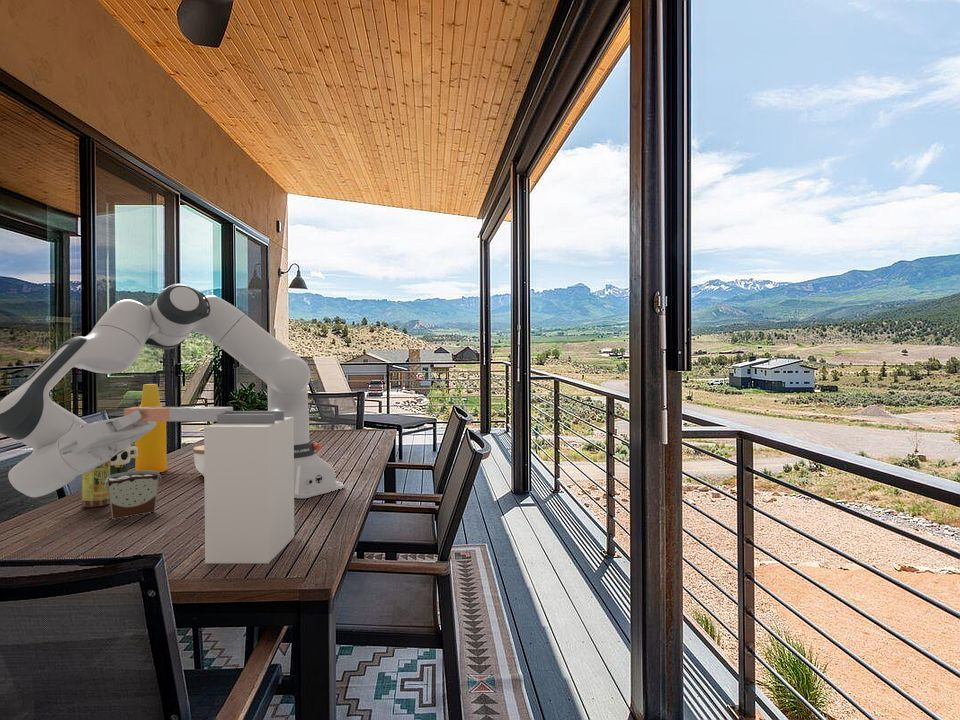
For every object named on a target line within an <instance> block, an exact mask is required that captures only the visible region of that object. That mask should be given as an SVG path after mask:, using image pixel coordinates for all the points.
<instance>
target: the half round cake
mask: <svg viewBox="0 0 960 720" xmlns="http://www.w3.org/2000/svg"><path fill="white" fill-rule="evenodd" d="M159 480H160V481H161V480H162V477H161V474H160V473H159V472H158V471H136V470H134V471H133V470H132V471H128V472H123V473H117V474H113V475H110V476H108V477H107V479H106V481H105V486H104V487H105V488H106V485H107V486H108V493H109V505H110V507H109V508H110V516H111V520H112V519H114V520H117V519H116V518H120V519H122V518H121V517H126V516H131V517H133V516H132V515H137V516H139V515H138V514H143V515H146V514H145V513H149V514H152V513H151V512H154V513H156V508H157V499H158V488H159ZM126 518H127V517H126Z"/></svg>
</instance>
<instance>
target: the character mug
mask: <svg viewBox="0 0 960 720" xmlns="http://www.w3.org/2000/svg"><path fill="white" fill-rule="evenodd" d="M131 451H133V454H131ZM137 456H138V448H137V447H135V446H131V444H130V445H128V446H127V449H126V450H125V451H123V452H121V453H119V454H117V455H115V456H113V457H112V458H111V459H110V475H113V474H117V473H123V472H129V471H128V466H127V465H126V464H129V463H130V462H131V460H132V459H135V458H136V457H137Z"/></svg>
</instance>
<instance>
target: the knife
mask: <svg viewBox="0 0 960 720" xmlns="http://www.w3.org/2000/svg"><path fill="white" fill-rule="evenodd" d="M123 410H124V411H123V416H126V415H128V414H130V413H132V412H134V411H137V410H141V411H142V413H143V414H144V418H142V419H141V420H139V421H166V422H217V414H233V411H234V407H233V406H162V407H140V406H132V407H127V408H124V409H123Z"/></svg>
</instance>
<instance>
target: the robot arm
mask: <svg viewBox="0 0 960 720" xmlns="http://www.w3.org/2000/svg"><path fill="white" fill-rule="evenodd" d="M192 332H196V333H200V334H202V335H204V336H206V337H207V338H209V340H211V341H212V342H213V343H214V344H215V345H217V346H218V347H219V348H221V349H222V350H223V351H224V352H226V353H227V354H228V355H229V356H231V357H232V358H234V360H236V361H237V362H239V363H240V364H241V365H243V367H244V368H246V369H248V370H249V371H250V372H251V373H253V375H255V376H256V377H258V378H259V379H261V381H263V382H264V383H265V384H266V385H267V411H284V417H294V499H308V498H311V497H316V496H319V495H320V496H321V495H323V494H327V493H331V491H332V492H335V490H336V491H339V490H338V489H340V490H343V489H344V488H345V487H344V486H345V485H344V483H342V482H341V481H338V480H337V478H336V477H337V476H336V473H335V469H334V467H333V466H332V465H331V464H330V463H328V462H327V461H325V460H324V459H322V457H319V456H318V455H317V454H316V452H315V451H322V448H323V445H322V444H321V443H318V442H315V443H313V442H311V441H310V412H309V411H310V410H309V396H308V386H309V384H310V381H311V375H312V374H311V369H310V367H309V365H308V363H307V362H306V361H305V360H304V359H303V358H302V357H300V356H299V355H297V353H295V351H293V350H291V349H290V348H289V347H287V346H286V345H285V344H284V343H282V342H281V341H280V340H278V338H276V337H274V336H273V335H272V334H270V333H269V332H268V331H267V330H265V328H263V327H262V326H260V325H259V324H258V323H257V322H255V320H253V319H252V318H250V317H249V316H248V315H246V314H245V313H244V312H243V311H241V310H240V308H239V309H238V308H237V307H236V306H235V305H233V304H232V303H230V302H228V301H226V300H225V299H223V298H221V297H219V296H217V295H211V294H210V295H209V294H208V295H205V294H204V293H202V292H200V291H199V290H197V289H196V288H194V287H191V286H189V285H186V284H181V283H173V284H171V285H169V286H167V287H165V288H164V289H163V290H161V292H160V293H159V294H158V295H157V297H156V299H155V300H154V302H152V304H151V305H145V304H143V303H141V302H139V301H137V300H134V299H121V300H119V301H117V302H115V303H113V304H112V305H111V306H110V307H109V308H108V310H106V312H104V314H103V315H102V316H101V317H100V319H99V320H98V321H97V322H96V324H95V325H94V327H93V328H92V330H91V331H90V332H89V333H88V334H87V335H86V336H83V335H81V336H80V335H77V336H74V337H72V338H71V337H70V339H68V340H66V341H64V342H63V343H62V344H60V345H59V346H58V347H57V348H56V349H54V351H53V352H51V354H50V355H49V356H47V357H46V358H45V359H44V361H42V363H40V364H39V366H38V367H36V368H35V369H34V371H33V372H32V373H30V374H29V375H28V376H27V377H26V378H25V380H23V381H22V382H21V383H20V384H19V385H18V386H17V387H15V388H14V389H13V390H12V391H10V392H9V393H7V394H6V396H4V397H3V398H2V399H1V400H0V434H2V435H4V436H6V437H8V438H10V439H14V441H15V440H16V441H18V442H20V443H22V444H23V445H25V446H27V447H29V448H31V449H33V451H32V452H31V454H29V455H28V456H26V457H25V458H23V459H22V460H21V461H19V462H18V463H17V464H16V465H14V466H13V467H12V468H11V469H9V471H8V475H7V476H8V480H9V483H10V485H11V486H12V487H13V488H14V489H15V490H16V491H17V492H19V493H21V494H22V495H24V496H27V497H29V498H38V497H43V496H45V495H48V494H51V493H53V492H56V491H57V490H59V489H61V488H63V487H65V486H66V485H69V484H70V483H72V482H73V481H75V479H76V478H77V477H79V476H81V475H82V474H84V473H87V472H89V471H91V470H93V469H94V468H96V467H98V466H100V465H101V464H103V463H105V462H107V461H108V460H110V459H111V458H112V457H113V456H115V455H117V454H119V453H121V452H123V451H125V450H126V449H127V446H128V445H130V446H131V444H133V443H135V441H136V440H138V439H139V438H141V437H142V436H144V435H145V434H147V433H148V432H149V431H151V430H152V429H153V428H154V427H155V426H156V422H155V421H139V420H141V419H142V418H144V414H143V413H142V411H141V410H137V411H134V412H132V413H130V414H128V415H126V416H124V415H123V416H119V417H115V418H114V417H113V418H110V419H103V420H99V421H94V422H91V423H89V422H86V421H85V420H84V419H82V418H80V417H79V416H77V415H76V414H74V413H73V412H71V411H69V410H67V409H66V408H64V407H62V406H61V405H59V404H58V403H56V402H55V401H53V400H52V398H51V397H50V391H51V390H52V389H54V387H55V386H56V385H58V383H59V382H60V381H61V380H62V378H64V377H65V376H66V374H67V373H69V372H70V370H71V369H73V368H78V369H82V370H85V371H89V372H93V373H98V374H104V375H105V374H107V375H108V374H117V373H121V372H123V371H126V370H128V369H129V368H130V367H131V366H132V365H133V364H134V363H135V361H136V360H137V359H138V357H139V355H140V353H141V351H142V350H143V347H144V346H145V345H149V346H151V347H153V348H155V349H159V350H165V351H167V350H172V349H175V348H177V347H178V346H180V345H181V344H183V343H184V342H185V341H186V338H188V336H190V335H191V333H192ZM342 488H343V489H342Z"/></svg>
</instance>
